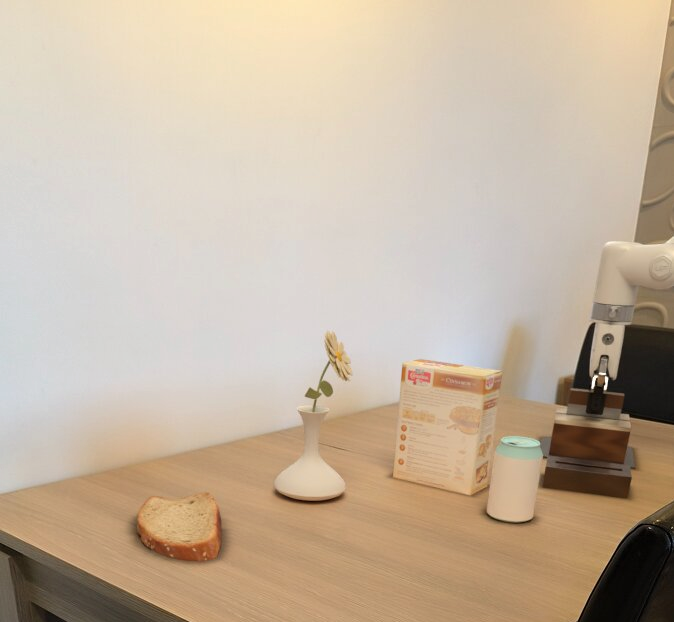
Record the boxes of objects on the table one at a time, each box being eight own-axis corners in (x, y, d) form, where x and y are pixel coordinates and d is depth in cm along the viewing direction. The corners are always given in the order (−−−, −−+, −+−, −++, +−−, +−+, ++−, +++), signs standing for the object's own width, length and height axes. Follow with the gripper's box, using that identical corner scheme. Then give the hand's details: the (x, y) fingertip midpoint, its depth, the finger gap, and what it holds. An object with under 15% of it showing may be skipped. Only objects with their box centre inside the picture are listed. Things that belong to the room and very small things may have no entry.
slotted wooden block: (625, 487, 144) (630, 465, 143) (627, 500, 138) (632, 477, 136) (544, 477, 148) (547, 455, 146) (541, 488, 141) (545, 466, 139)
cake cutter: (612, 452, 163) (624, 393, 158) (612, 455, 161) (624, 395, 156) (560, 446, 166) (570, 388, 161) (560, 449, 164) (570, 390, 159)
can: (526, 528, 123) (539, 449, 118) (480, 519, 125) (491, 442, 120) (536, 515, 129) (549, 439, 123) (492, 506, 131) (503, 432, 126)
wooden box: (631, 449, 169) (639, 413, 165) (634, 470, 155) (643, 431, 152) (541, 439, 173) (547, 403, 170) (537, 458, 159) (543, 420, 156)
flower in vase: (315, 512, 124) (322, 340, 114) (258, 494, 130) (261, 330, 120) (365, 493, 134) (376, 333, 123) (310, 477, 140) (317, 323, 129)
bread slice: (199, 567, 104) (199, 540, 102) (92, 536, 111) (90, 510, 109) (277, 527, 118) (278, 502, 116) (177, 501, 125) (176, 478, 124)
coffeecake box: (488, 487, 140) (504, 370, 132) (470, 497, 135) (485, 375, 126) (411, 469, 147) (421, 357, 139) (391, 478, 142) (400, 362, 134)
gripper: (634, 321, 144) (614, 421, 151) (631, 311, 159) (613, 402, 167) (590, 317, 146) (573, 416, 153) (591, 308, 161) (575, 398, 168)
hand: (594, 408), depth 160 cm, fingers open, 7 cm apart
